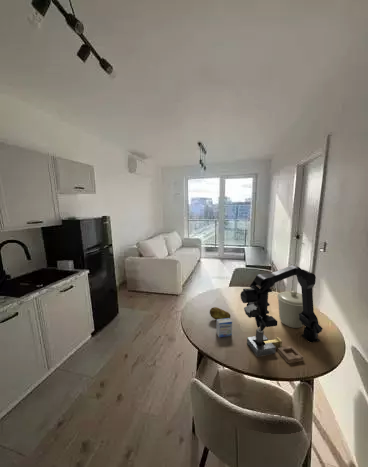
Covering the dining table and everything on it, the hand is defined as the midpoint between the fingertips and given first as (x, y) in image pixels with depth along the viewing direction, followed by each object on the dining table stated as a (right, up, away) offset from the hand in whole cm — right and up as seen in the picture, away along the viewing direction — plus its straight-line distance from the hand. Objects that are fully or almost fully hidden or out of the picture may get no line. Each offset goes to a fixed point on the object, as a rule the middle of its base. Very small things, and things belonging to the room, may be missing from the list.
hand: (259, 329), depth 107 cm
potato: (-16, -7, +28) cm, 33 cm away
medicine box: (-16, -9, +14) cm, 23 cm away
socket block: (+1, -11, +2) cm, 11 cm away
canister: (+28, -7, +24) cm, 37 cm away
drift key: (+7, -11, +3) cm, 13 cm away
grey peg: (0, -11, +2) cm, 11 cm away
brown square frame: (+13, -12, -3) cm, 18 cm away
